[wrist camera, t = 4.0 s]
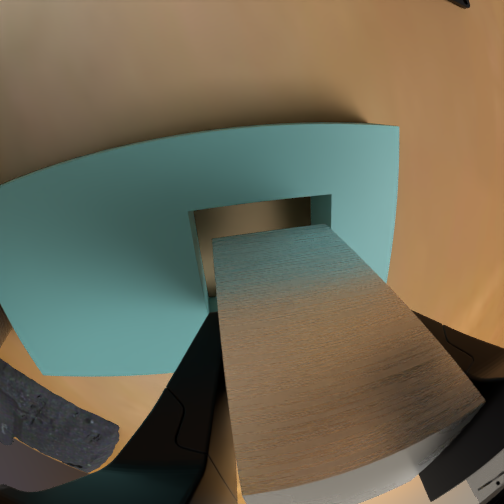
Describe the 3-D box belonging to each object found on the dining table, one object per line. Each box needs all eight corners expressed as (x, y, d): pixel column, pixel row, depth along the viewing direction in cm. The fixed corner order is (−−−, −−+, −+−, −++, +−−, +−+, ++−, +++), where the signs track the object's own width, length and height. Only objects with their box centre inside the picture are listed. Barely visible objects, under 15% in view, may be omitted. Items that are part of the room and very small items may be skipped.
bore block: (369, 123, 12) (399, 126, 10) (357, 309, 17) (375, 334, 15) (-10, 189, 10) (-37, 203, 8) (55, 348, 15) (43, 375, 13)
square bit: (325, 223, 10) (485, 401, 3) (321, 312, 12) (409, 480, 5) (212, 238, 10) (242, 496, 3) (227, 329, 11) (260, 528, 4)
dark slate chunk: (92, 463, 24) (89, 493, 20) (-53, 375, 16) (-67, 401, 11) (133, 423, 20) (129, 468, 16) (-66, 292, 12) (-93, 323, 8)
